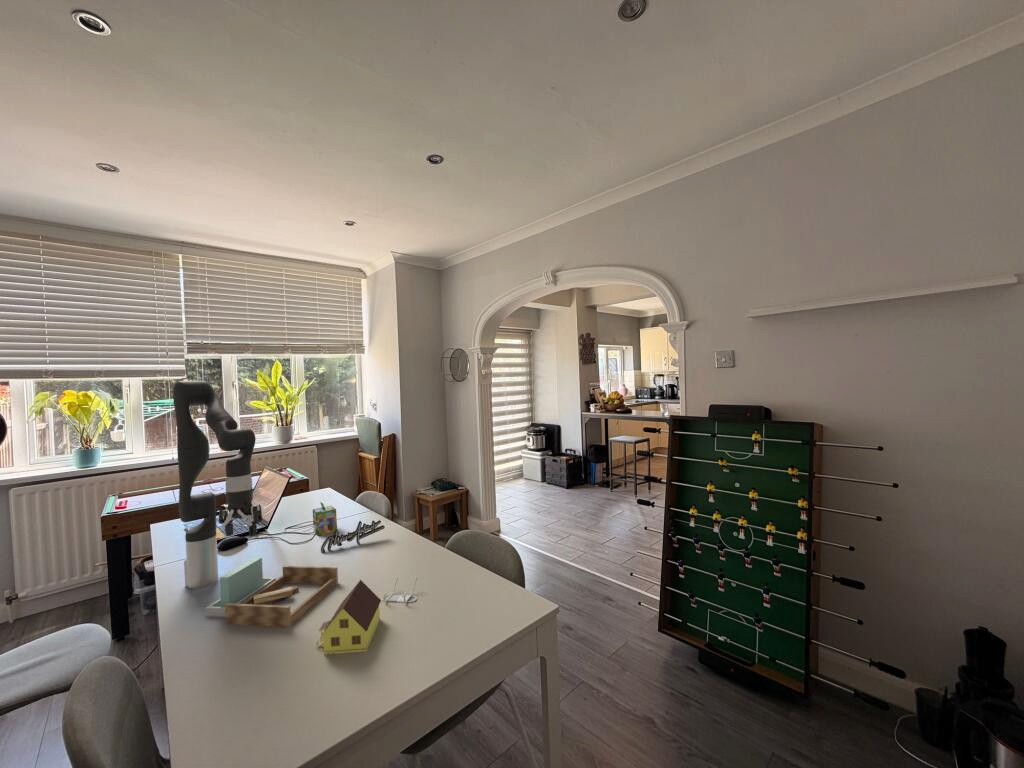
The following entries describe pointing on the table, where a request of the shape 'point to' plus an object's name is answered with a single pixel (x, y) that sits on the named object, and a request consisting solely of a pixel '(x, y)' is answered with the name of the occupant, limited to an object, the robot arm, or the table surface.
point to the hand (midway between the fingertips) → (241, 535)
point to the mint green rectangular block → (241, 581)
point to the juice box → (324, 520)
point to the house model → (352, 622)
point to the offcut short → (272, 595)
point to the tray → (219, 611)
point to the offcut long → (294, 589)
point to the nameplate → (352, 535)
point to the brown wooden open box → (277, 613)
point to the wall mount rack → (399, 598)
